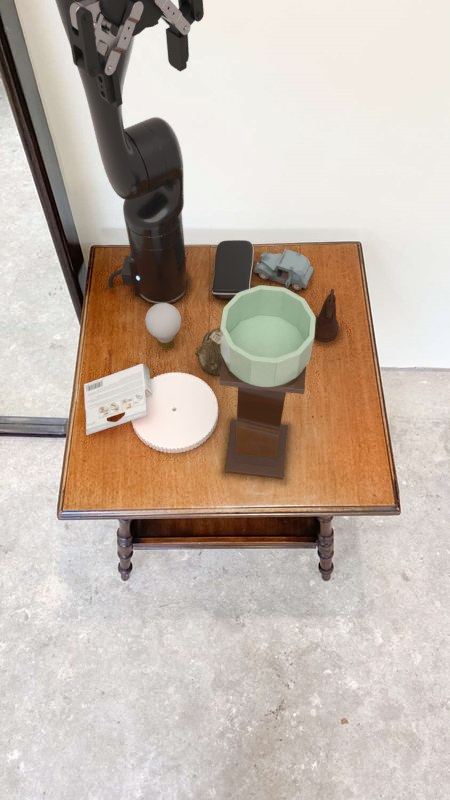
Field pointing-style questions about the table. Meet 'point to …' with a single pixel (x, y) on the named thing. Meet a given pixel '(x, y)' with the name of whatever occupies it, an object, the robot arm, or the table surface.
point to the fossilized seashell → (211, 353)
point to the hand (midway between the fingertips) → (146, 84)
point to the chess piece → (327, 320)
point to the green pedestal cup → (263, 373)
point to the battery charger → (232, 268)
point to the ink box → (117, 398)
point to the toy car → (285, 268)
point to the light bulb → (163, 323)
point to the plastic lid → (177, 413)
